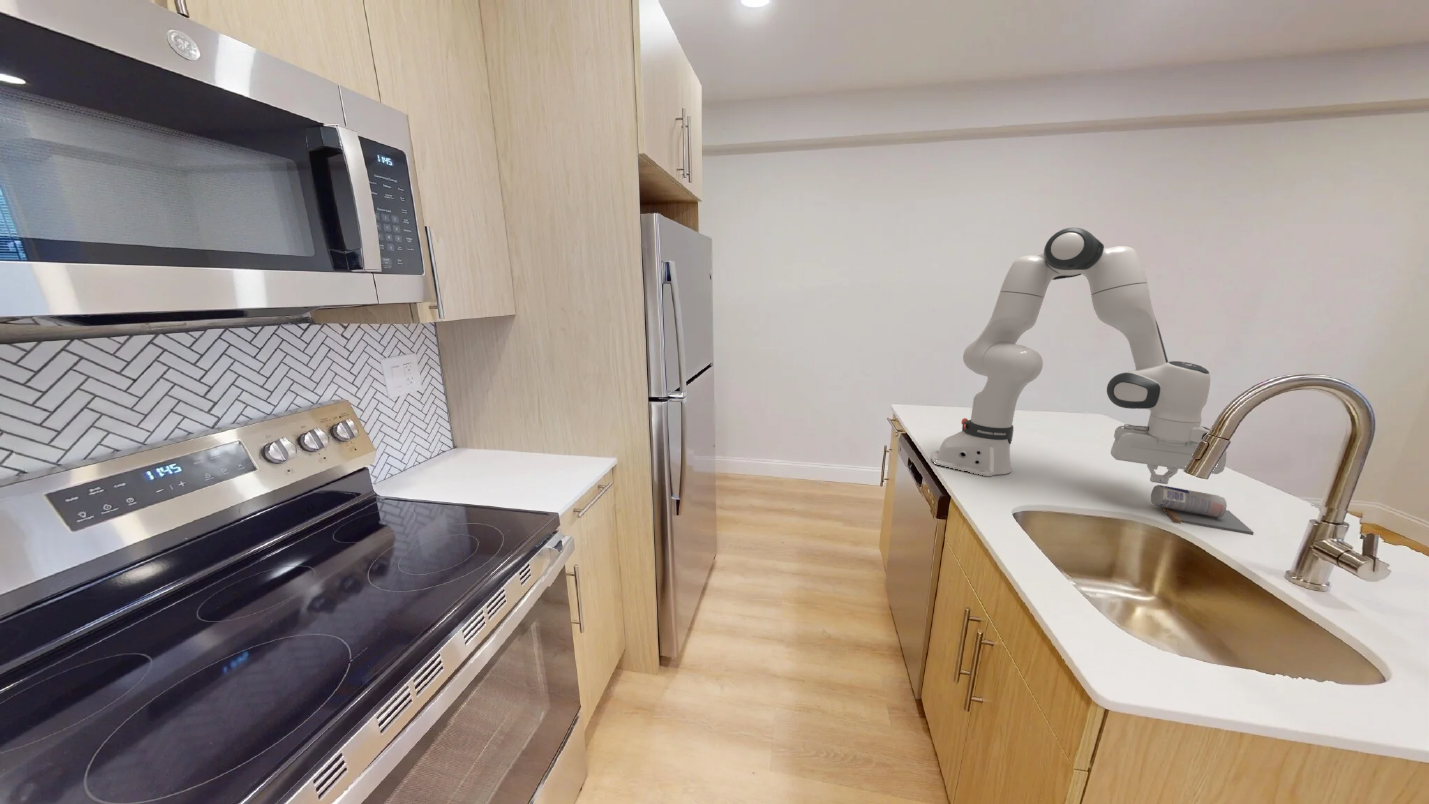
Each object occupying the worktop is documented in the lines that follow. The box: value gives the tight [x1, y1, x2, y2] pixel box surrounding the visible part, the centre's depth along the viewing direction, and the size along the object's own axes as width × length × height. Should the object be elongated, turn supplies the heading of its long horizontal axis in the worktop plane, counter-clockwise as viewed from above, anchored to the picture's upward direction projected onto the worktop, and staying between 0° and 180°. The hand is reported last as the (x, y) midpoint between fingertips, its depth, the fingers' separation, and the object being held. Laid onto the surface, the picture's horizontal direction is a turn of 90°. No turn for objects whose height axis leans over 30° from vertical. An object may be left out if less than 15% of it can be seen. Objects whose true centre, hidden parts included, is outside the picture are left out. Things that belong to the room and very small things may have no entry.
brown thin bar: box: [1160, 507, 1182, 524], centre depth 115 cm, size 1×14×1 cm, turn 151°
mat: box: [1172, 509, 1255, 535], centre depth 112 cm, size 12×12×1 cm
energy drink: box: [1150, 484, 1227, 517], centre depth 113 cm, size 5×5×12 cm
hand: (1158, 482), depth 115 cm, fingers closed
